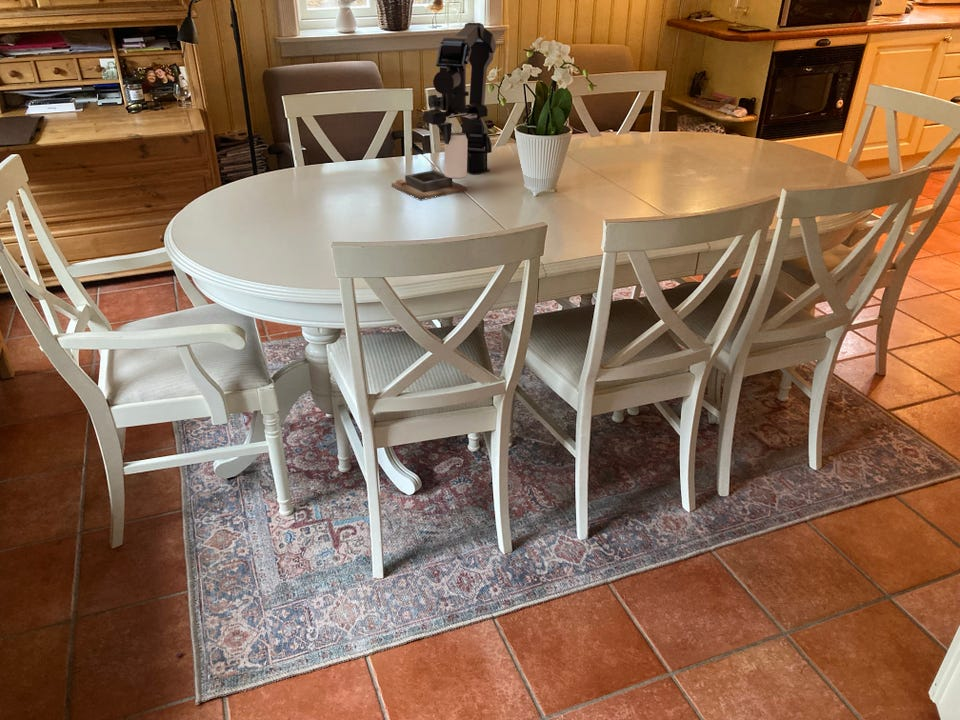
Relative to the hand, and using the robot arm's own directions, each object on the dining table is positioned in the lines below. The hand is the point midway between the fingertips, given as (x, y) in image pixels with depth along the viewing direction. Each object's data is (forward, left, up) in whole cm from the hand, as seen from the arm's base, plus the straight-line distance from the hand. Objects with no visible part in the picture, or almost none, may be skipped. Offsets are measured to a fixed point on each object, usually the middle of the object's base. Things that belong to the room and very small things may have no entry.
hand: (456, 144), depth 214 cm
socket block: (+6, -6, -13) cm, 15 cm away
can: (+1, +1, -9) cm, 9 cm away
